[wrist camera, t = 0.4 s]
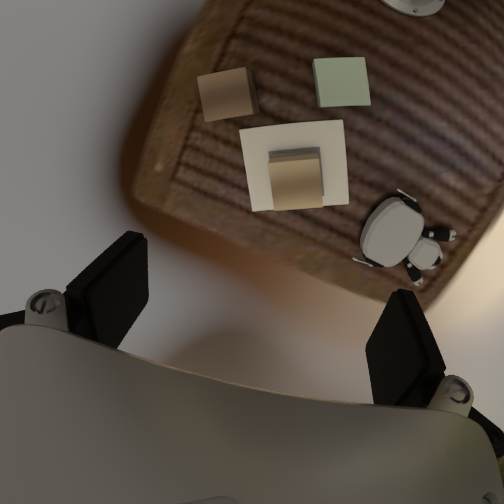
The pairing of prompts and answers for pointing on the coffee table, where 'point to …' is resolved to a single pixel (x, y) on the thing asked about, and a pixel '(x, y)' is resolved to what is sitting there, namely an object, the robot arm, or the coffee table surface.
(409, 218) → the robot toy
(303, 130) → the board
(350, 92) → the sage block
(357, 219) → the coffee table surface
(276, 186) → the oak block
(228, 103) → the walnut block
